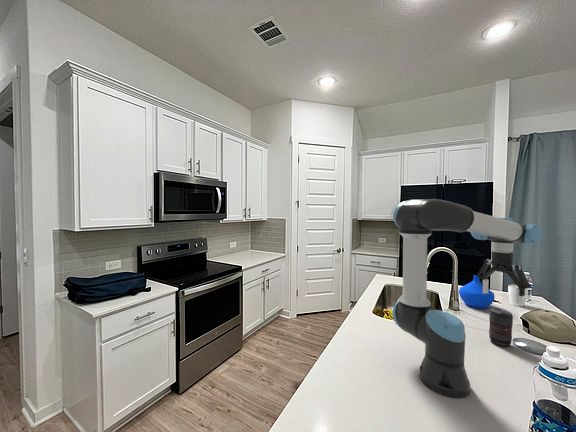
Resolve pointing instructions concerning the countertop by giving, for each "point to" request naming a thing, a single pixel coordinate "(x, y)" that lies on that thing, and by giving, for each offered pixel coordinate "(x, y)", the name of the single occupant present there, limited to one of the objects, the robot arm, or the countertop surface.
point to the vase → (476, 294)
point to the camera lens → (500, 327)
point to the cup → (513, 295)
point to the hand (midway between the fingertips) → (501, 297)
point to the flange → (529, 345)
